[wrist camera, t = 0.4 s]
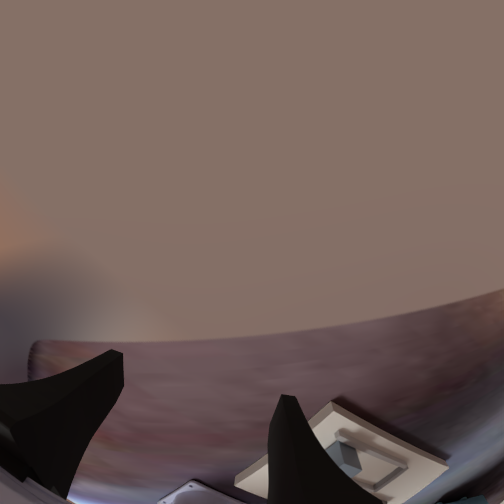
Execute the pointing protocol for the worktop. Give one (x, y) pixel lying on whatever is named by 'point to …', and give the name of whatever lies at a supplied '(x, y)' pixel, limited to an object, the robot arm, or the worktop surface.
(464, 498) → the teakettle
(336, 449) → the block
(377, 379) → the worktop surface
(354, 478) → the control panel
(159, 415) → the worktop surface
